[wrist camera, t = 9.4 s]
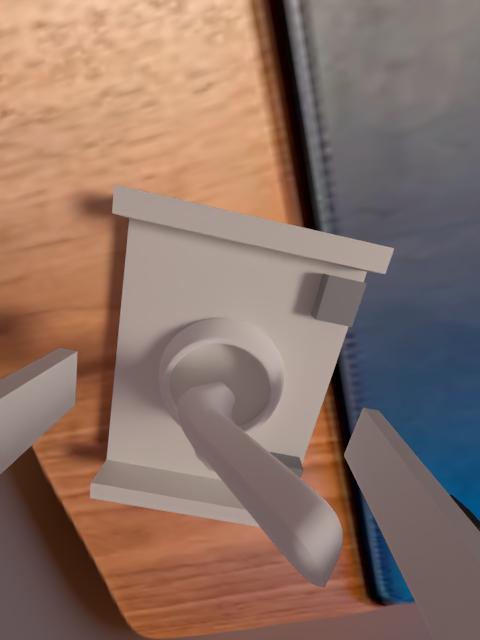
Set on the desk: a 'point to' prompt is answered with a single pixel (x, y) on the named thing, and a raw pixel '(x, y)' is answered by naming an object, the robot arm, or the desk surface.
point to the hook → (252, 451)
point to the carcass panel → (221, 359)
